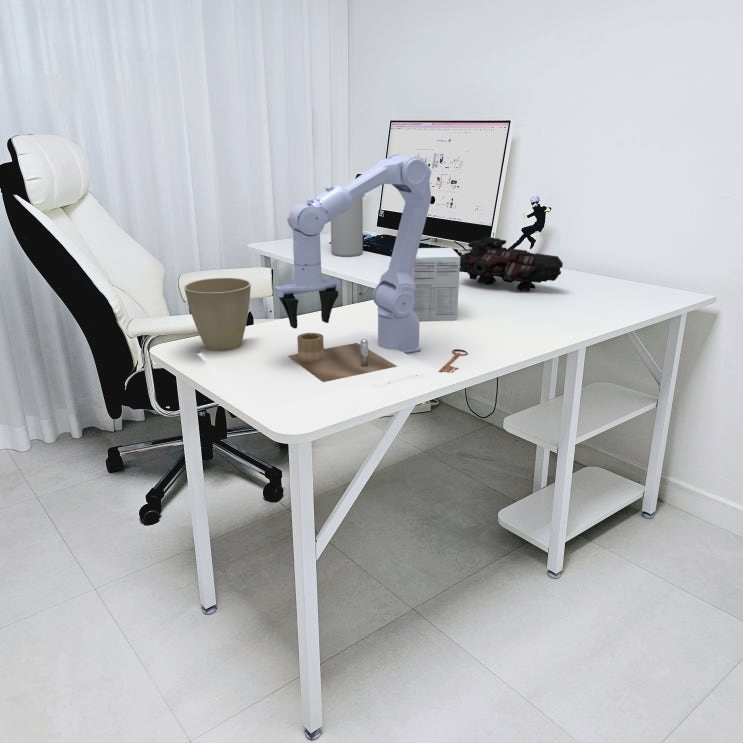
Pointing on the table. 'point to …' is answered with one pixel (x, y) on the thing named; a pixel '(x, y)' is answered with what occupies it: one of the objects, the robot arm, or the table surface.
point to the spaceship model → (508, 264)
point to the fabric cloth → (343, 363)
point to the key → (452, 361)
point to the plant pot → (219, 310)
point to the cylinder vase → (348, 231)
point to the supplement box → (436, 284)
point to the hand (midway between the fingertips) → (309, 324)
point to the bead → (310, 347)
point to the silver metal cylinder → (364, 353)
